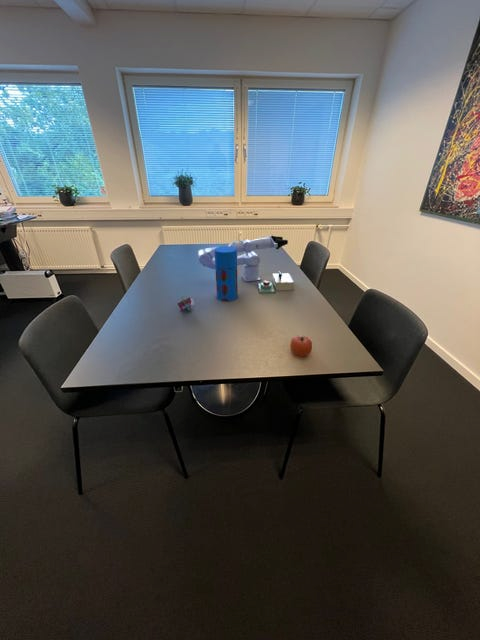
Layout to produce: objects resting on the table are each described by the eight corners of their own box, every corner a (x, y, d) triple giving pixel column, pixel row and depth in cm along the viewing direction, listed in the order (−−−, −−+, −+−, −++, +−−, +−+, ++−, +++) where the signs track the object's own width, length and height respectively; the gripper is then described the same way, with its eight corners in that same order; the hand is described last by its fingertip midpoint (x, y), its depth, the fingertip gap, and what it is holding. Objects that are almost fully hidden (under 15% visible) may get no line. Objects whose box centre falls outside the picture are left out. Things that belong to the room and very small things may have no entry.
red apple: (313, 359, 92) (316, 342, 88) (291, 359, 92) (293, 343, 88) (308, 346, 98) (310, 330, 95) (287, 346, 98) (289, 330, 94)
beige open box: (276, 290, 141) (276, 283, 139) (272, 281, 153) (273, 274, 150) (293, 290, 142) (293, 283, 140) (288, 280, 153) (288, 274, 151)
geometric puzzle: (175, 310, 118) (184, 297, 115) (174, 304, 123) (182, 290, 121) (188, 317, 121) (197, 303, 119) (187, 310, 127) (195, 297, 125)
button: (263, 285, 141) (263, 282, 140) (263, 283, 143) (263, 280, 142) (269, 285, 141) (269, 282, 140) (268, 283, 143) (268, 280, 142)
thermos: (235, 302, 130) (234, 253, 117) (214, 300, 132) (211, 251, 119) (239, 292, 139) (238, 246, 126) (220, 291, 141) (217, 245, 128)
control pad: (260, 293, 138) (260, 288, 137) (257, 285, 148) (258, 280, 146) (274, 292, 139) (275, 287, 137) (271, 284, 148) (272, 279, 147)
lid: (276, 283, 139) (276, 277, 137) (272, 274, 150) (272, 268, 148) (293, 283, 140) (294, 276, 138) (288, 274, 151) (289, 267, 149)
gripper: (266, 239, 138) (290, 236, 141) (258, 233, 150) (280, 230, 153) (266, 252, 142) (289, 248, 144) (258, 245, 154) (280, 242, 156)
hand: (284, 240), depth 149 cm, fingers open, 7 cm apart
